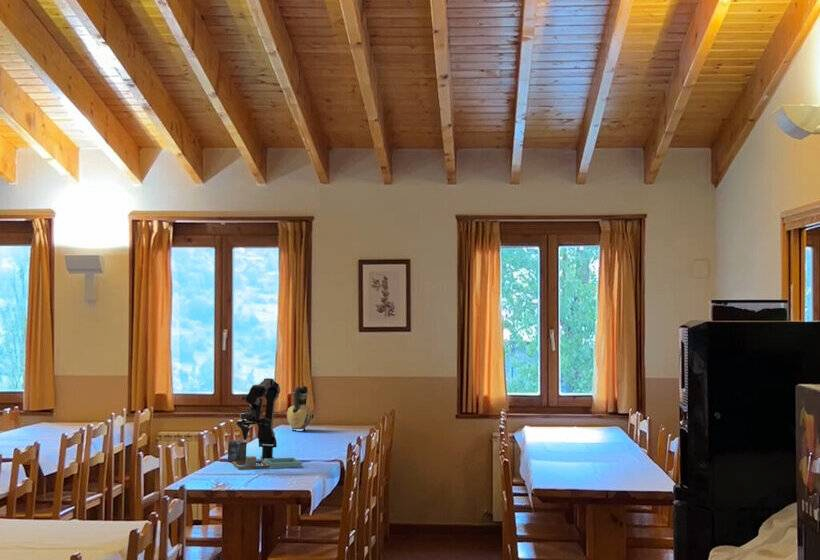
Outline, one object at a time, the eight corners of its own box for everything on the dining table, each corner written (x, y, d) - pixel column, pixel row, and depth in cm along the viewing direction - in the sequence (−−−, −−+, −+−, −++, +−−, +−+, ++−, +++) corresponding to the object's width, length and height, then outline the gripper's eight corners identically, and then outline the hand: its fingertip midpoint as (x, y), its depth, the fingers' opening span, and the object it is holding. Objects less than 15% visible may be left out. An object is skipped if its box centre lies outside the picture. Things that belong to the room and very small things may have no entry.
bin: (264, 463, 451) (264, 458, 452) (293, 462, 457) (293, 457, 457) (271, 468, 437) (271, 463, 437) (301, 467, 443) (301, 462, 443)
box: (227, 461, 453) (228, 441, 454) (234, 460, 458) (235, 440, 459) (238, 463, 449) (239, 442, 450) (246, 462, 454) (246, 441, 455)
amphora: (306, 433, 579) (308, 387, 581) (282, 431, 582) (284, 386, 584) (314, 430, 597) (316, 386, 598) (290, 428, 600) (292, 385, 601)
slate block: (245, 466, 442) (245, 456, 442) (254, 465, 444) (254, 455, 444) (247, 467, 438) (247, 457, 438) (256, 467, 440) (256, 457, 440)
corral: (232, 464, 445) (232, 461, 445) (262, 463, 451) (262, 460, 451) (238, 469, 431) (238, 466, 431) (269, 468, 437) (269, 465, 437)
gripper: (231, 406, 443) (226, 436, 437) (259, 403, 434) (255, 434, 428) (246, 412, 452) (241, 441, 446) (273, 409, 443) (269, 439, 437)
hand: (251, 439), depth 439 cm, fingers open, 9 cm apart
